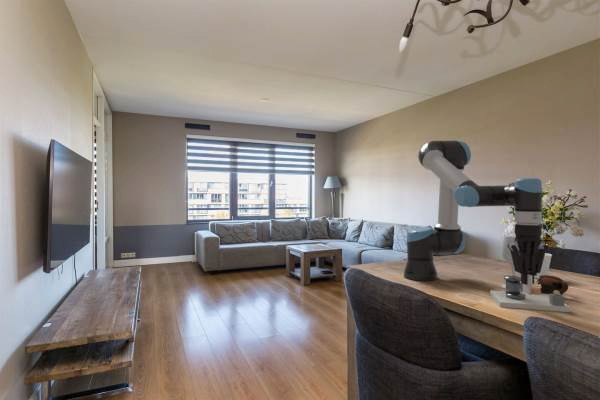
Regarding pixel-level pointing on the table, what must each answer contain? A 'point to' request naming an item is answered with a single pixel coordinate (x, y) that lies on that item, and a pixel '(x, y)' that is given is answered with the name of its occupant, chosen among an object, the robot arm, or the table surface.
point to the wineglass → (508, 254)
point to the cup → (544, 266)
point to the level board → (532, 301)
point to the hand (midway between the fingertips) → (527, 293)
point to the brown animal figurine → (552, 284)
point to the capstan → (517, 288)
